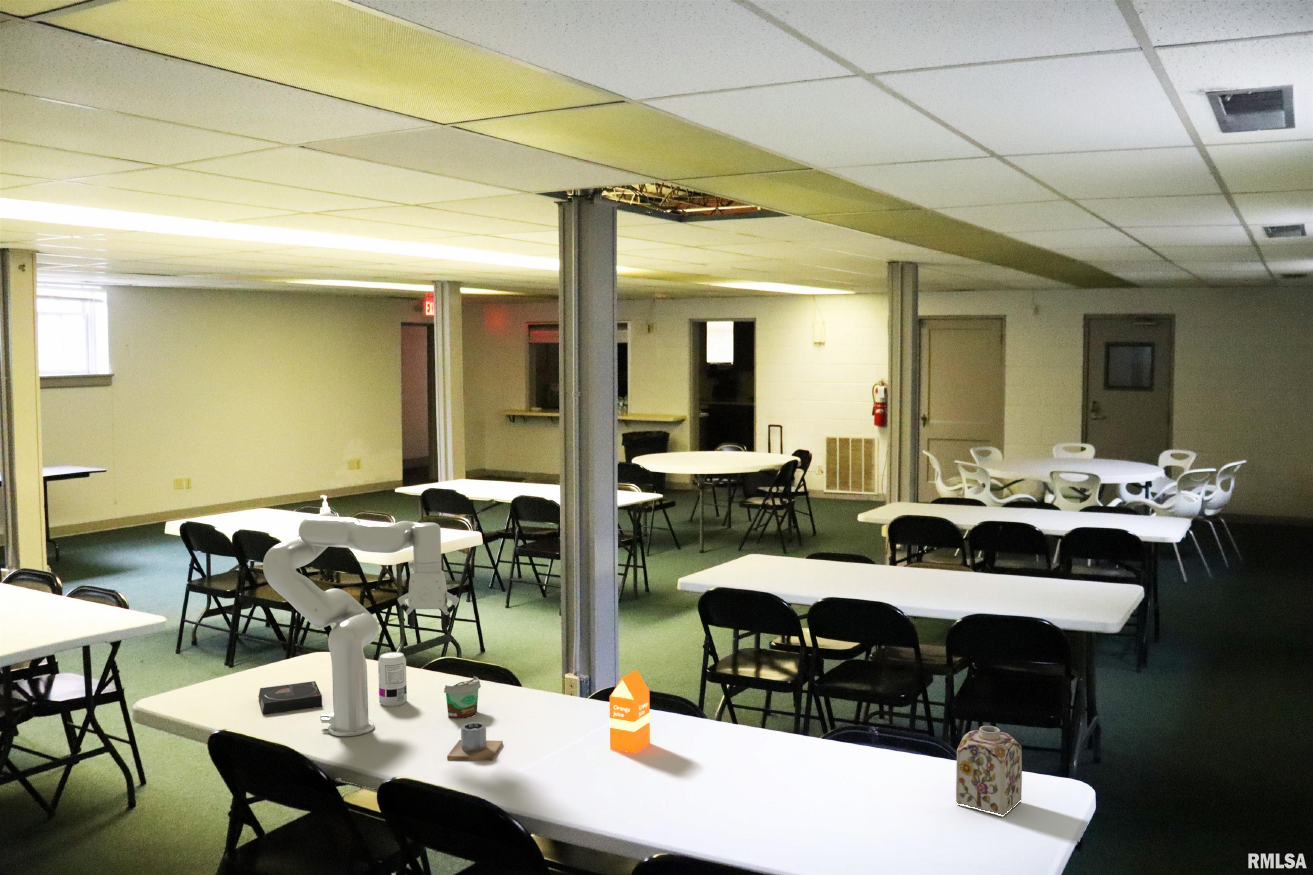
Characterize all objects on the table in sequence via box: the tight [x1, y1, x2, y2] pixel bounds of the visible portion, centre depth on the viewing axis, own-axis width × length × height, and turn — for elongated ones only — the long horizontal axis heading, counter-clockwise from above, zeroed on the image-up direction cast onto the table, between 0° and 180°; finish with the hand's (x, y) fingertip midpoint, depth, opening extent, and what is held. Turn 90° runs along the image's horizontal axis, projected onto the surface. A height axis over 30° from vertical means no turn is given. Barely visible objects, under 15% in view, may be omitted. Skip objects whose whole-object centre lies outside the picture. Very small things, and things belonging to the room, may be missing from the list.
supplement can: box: [377, 651, 408, 708], centre depth 326 cm, size 8×8×15 cm
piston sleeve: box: [460, 721, 487, 753], centre depth 284 cm, size 6×6×6 cm
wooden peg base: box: [446, 739, 504, 762], centre depth 284 cm, size 12×12×6 cm
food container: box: [443, 675, 482, 720], centre depth 314 cm, size 12×6×10 cm, turn 143°
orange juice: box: [609, 669, 651, 754], centre depth 287 cm, size 8×9×20 cm
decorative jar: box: [955, 725, 1023, 815], centre depth 248 cm, size 12×12×18 cm
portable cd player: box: [258, 680, 323, 716], centre depth 327 cm, size 16×17×4 cm
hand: (429, 627), depth 297 cm, fingers open, 9 cm apart
